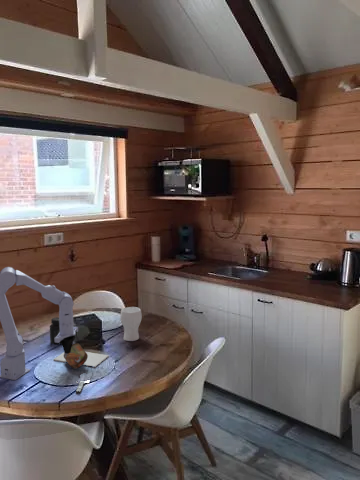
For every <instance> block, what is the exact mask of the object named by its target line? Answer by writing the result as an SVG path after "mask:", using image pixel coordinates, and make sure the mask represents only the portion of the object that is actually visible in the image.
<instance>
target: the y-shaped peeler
mask: <svg viewBox="0 0 360 480" xmlns="http://www.w3.org/2000/svg"><path fill="white" fill-rule="evenodd" d="M90 381H91V380H87V381H80V383H79V384H78V386H77V387H76V390H75V394H76V395H79V394H81V393H82V391H83V389H84V385H86V384H85V383H87V384H88V385H89V384H90ZM76 383H78V382H77V381H76V382H75V384H76Z"/></svg>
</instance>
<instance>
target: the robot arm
mask: <svg viewBox="0 0 360 480" xmlns="http://www.w3.org/2000/svg"><path fill="white" fill-rule="evenodd" d="M14 285H15V286H26V287H28V288H30V289H32V290H34V291H36V292H39V293H40V294H41V298H43V299H45V300H46V301H49V302H51V303H53V304H54V305H58V307H59V311H58V314H59V315H58V317H59V326H60V332H59V334H58V335H57V336H56V337H55V338H54V339H55V342H56V343H59V342H60V343H61V344H60V345H61V346H62V349H63V353H64V352H65V353H67V354H69V353H70V352H71V347H72V344H74V343H73V342H74V341H75V339H76V334H77V333H76V332H79V326H74V311H73V310H74V308H73V307H74V304H75V303H74V301H73V300H74V299H73V298H72V296H71V295H70V294H69V292H66V291H61V290H60V289H58V288H56V286H55V285H54V284H52V285H50V284H48V285H44V284H43V283H41V282H39V281H38V280H36V279H34V278H32V277H31V276H30V275H28V274H26V273H24V272H22V271H20V270H18V269H16V270H15V268H13V267H12V266H6V267H4V268H2V269H1V270H0V323H1V326H2V331H3V333H4V337H5V343H6V348H5V349H6V350H5V355H4V357H3V358H2V359H1V360H0V378H3V379H9V380H12V381H16V380H17V379H19V378H21V377H22V376H24V375H25V374H27V373H29V372H30V371H31V369H30V368H26V353H25V349H24V343H23V342H24V338H23V336H22V335H21V334H20V333H19V331H18V329H17V327H16V324H15V320H14V317H13V315H12V311H11V308H10V305H9V302H8V299H7V296H6V293H7V292H8V290H9V289H10V288H11V287H13V286H14Z"/></svg>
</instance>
